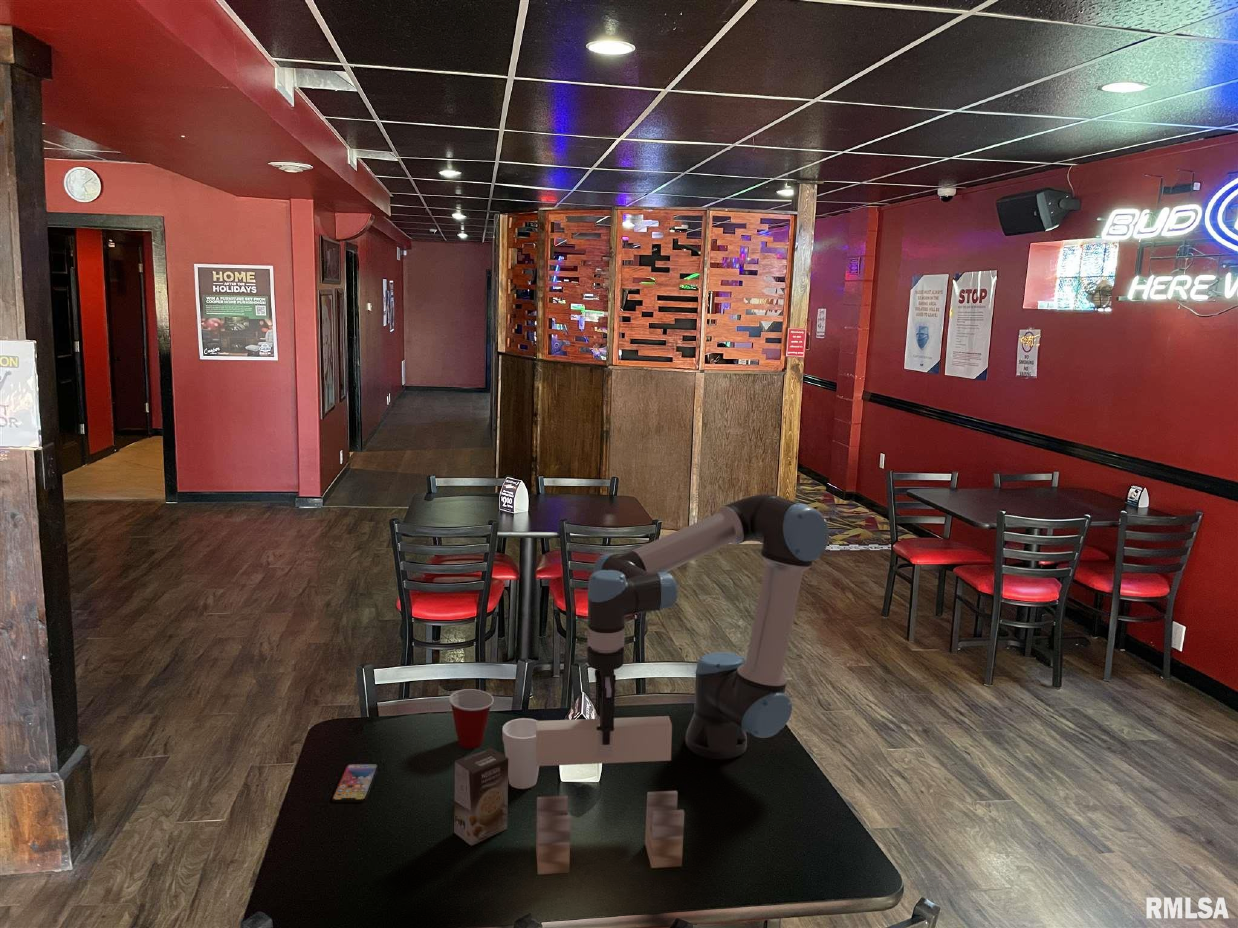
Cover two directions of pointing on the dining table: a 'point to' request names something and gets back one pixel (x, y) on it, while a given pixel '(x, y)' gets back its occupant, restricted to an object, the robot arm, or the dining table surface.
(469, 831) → the coffee box
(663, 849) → the brackets
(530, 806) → the dining table surface
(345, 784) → the smartphone
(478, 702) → the plastic cup
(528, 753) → the foam cup
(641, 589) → the robot arm
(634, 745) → the rail
